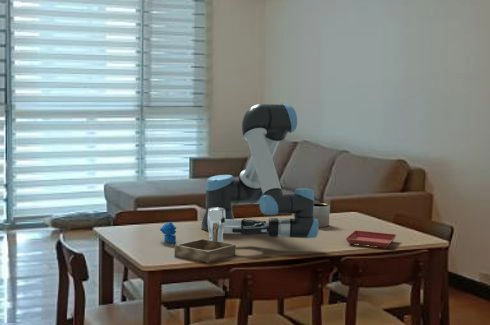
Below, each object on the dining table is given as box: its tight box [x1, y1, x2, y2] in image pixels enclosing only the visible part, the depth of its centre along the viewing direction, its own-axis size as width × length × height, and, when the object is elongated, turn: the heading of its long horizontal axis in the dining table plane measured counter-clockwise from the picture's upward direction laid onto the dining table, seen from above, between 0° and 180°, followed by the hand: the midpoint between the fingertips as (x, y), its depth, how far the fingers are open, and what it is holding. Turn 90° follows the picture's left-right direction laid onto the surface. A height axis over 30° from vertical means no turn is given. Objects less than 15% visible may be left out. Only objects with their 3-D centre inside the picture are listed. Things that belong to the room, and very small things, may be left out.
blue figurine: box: [159, 221, 177, 244], centre depth 304 cm, size 7×8×11 cm
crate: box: [174, 238, 236, 264], centre depth 282 cm, size 16×16×4 cm
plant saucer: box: [345, 230, 397, 249], centre depth 313 cm, size 18×18×3 cm
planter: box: [313, 202, 331, 228], centre depth 349 cm, size 11×11×10 cm
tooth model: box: [208, 207, 225, 243], centre depth 297 cm, size 7×7×15 cm
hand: (224, 226), depth 296 cm, fingers open, 13 cm apart
